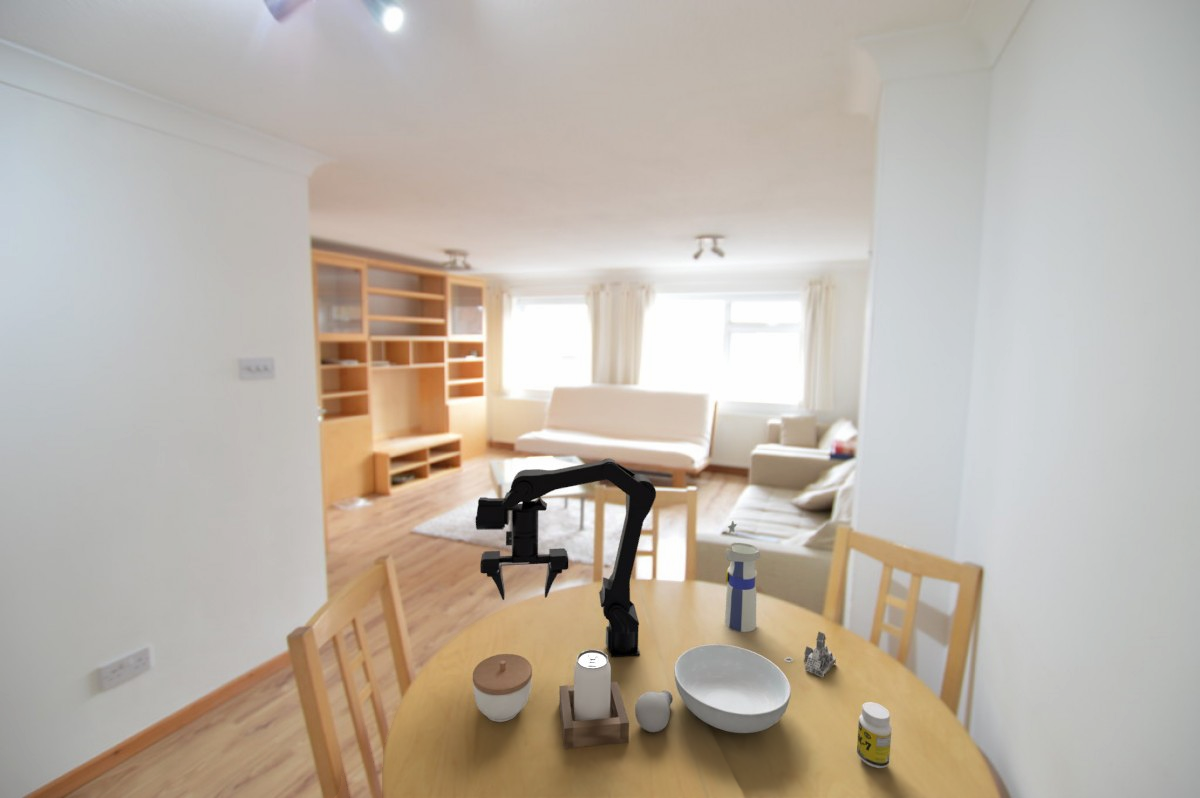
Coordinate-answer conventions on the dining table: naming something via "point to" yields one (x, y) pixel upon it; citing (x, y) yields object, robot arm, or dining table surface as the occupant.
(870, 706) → the supplement bottle
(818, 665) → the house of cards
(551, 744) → the dining table surface
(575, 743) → the sleeve block
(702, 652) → the serving bowl
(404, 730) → the dining table surface
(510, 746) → the dining table surface
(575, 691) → the can
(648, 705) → the lightbulb
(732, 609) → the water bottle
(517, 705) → the lidded jar
